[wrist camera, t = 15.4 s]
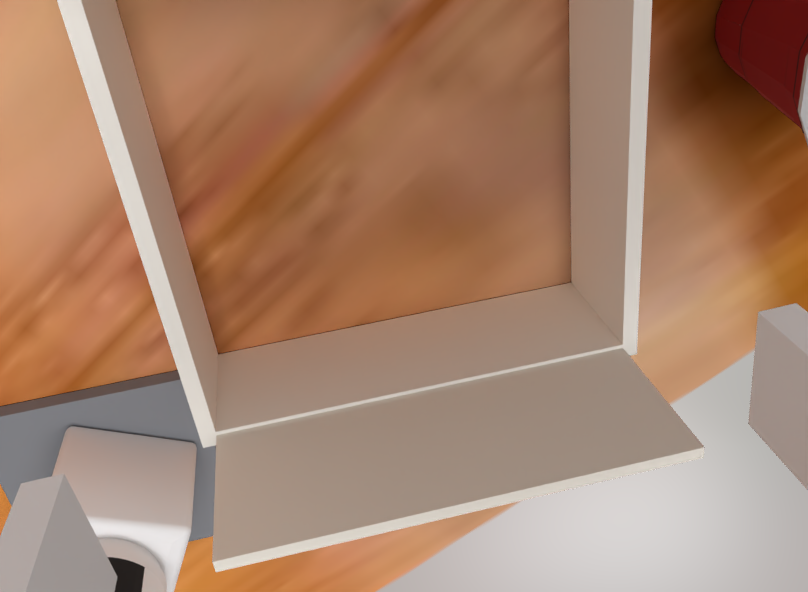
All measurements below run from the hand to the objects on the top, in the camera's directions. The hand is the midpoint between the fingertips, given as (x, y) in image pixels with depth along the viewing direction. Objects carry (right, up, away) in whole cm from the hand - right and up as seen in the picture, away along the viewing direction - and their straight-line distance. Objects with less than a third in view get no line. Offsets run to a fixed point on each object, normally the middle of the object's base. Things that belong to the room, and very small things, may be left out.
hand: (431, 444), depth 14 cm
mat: (-18, -8, +31) cm, 36 cm away
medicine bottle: (-17, -8, +30) cm, 36 cm away
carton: (-2, +11, +25) cm, 27 cm away
